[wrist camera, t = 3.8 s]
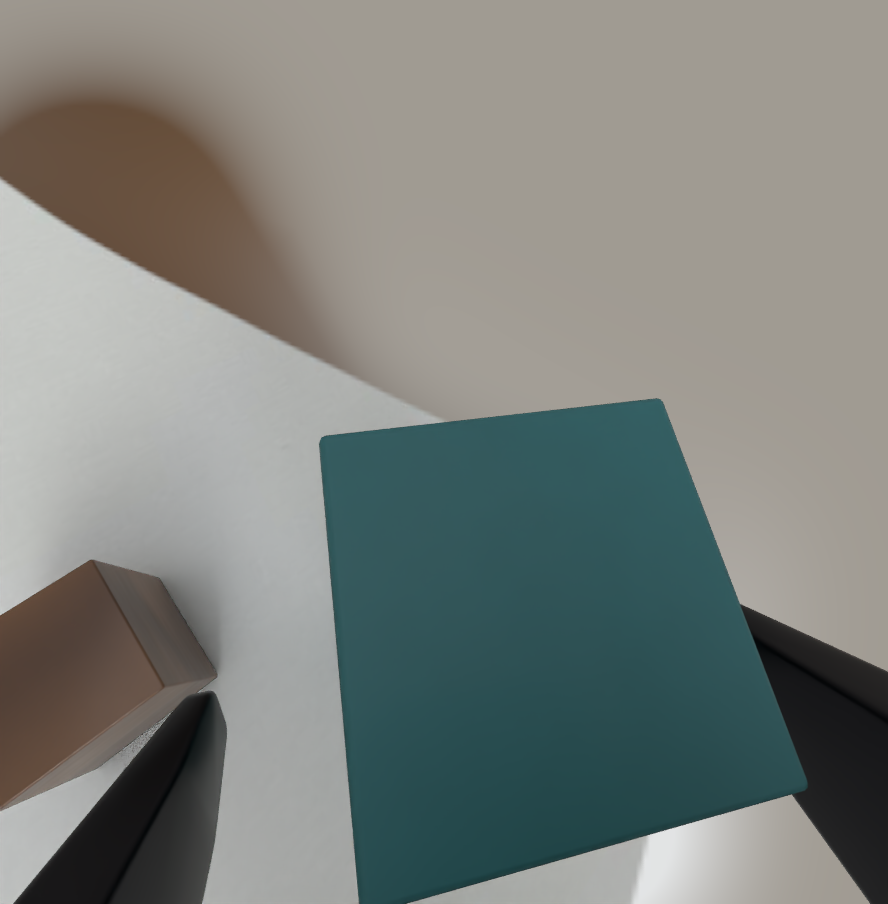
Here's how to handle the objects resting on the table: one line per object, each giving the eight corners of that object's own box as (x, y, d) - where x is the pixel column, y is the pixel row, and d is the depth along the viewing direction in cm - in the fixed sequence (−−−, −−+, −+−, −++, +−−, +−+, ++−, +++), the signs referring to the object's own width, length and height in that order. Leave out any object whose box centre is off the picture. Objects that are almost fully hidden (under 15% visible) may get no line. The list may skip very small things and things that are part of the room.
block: (219, 675, 15) (165, 687, 12) (95, 770, 14) (-10, 816, 10) (159, 576, 16) (91, 557, 12) (37, 656, 15) (-79, 662, 11)
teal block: (497, 679, 16) (815, 790, 4) (381, 703, 15) (359, 922, 3) (474, 562, 18) (663, 394, 6) (367, 580, 17) (316, 433, 5)
